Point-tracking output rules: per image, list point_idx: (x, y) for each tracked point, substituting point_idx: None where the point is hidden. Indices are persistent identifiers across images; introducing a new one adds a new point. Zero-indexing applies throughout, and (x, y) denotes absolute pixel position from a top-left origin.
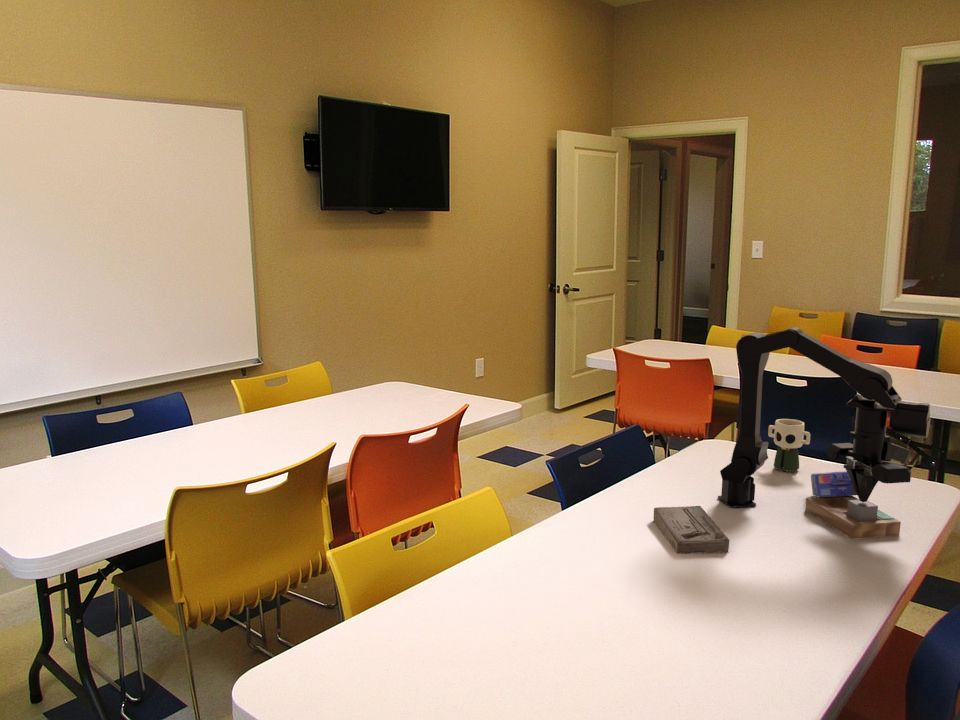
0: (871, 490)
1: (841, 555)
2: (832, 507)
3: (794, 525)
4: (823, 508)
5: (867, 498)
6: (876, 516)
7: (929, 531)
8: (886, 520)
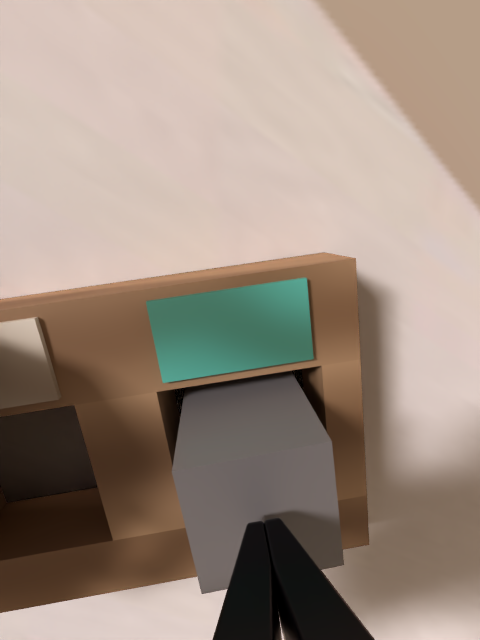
0: (357, 626)
1: (469, 575)
2: (108, 548)
3: (189, 636)
4: (117, 587)
5: (295, 543)
6: (307, 401)
7: (280, 15)
8: (326, 340)
